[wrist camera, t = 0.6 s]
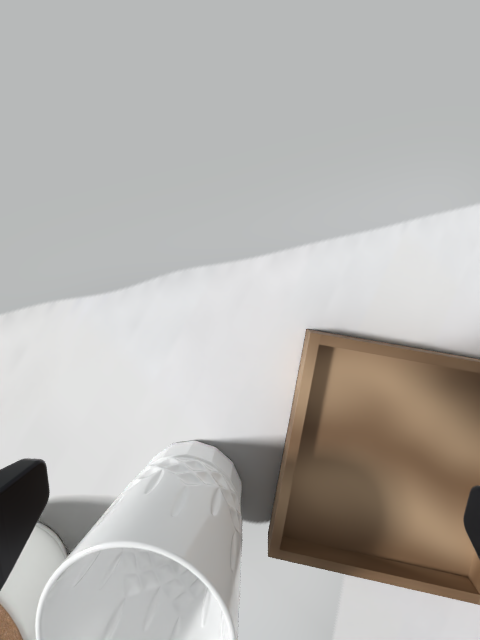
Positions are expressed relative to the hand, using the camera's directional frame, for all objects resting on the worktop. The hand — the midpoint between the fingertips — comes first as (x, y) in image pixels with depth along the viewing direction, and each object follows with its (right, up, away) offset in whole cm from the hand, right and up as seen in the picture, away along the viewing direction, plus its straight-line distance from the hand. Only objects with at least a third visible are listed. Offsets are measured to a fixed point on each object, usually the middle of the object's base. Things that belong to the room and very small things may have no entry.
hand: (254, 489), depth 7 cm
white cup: (-3, -8, +16) cm, 18 cm away
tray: (+9, -5, +14) cm, 18 cm away
